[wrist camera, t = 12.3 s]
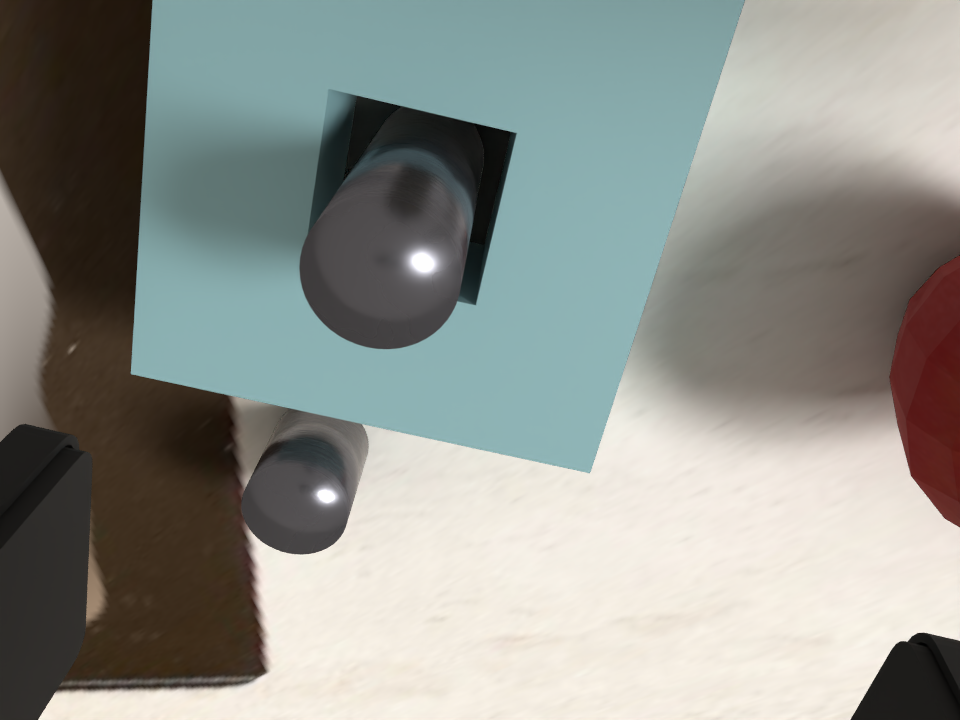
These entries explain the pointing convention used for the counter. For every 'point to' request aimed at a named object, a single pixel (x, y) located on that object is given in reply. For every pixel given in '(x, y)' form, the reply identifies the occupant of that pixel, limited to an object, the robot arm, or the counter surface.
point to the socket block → (488, 268)
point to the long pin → (396, 233)
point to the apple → (931, 388)
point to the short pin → (305, 482)
